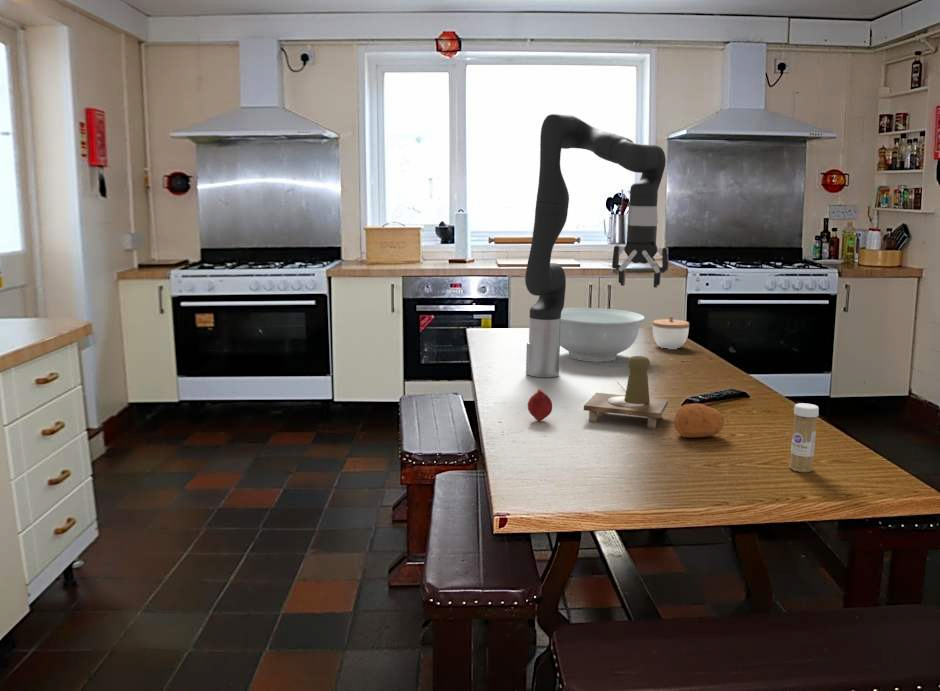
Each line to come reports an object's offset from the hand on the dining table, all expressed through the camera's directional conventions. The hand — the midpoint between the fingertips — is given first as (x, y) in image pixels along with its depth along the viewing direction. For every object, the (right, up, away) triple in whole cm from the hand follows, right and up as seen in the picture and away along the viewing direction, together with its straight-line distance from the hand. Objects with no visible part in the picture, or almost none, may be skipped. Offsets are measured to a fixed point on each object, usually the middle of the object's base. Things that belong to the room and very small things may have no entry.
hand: (639, 286), depth 227 cm
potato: (+8, -36, -29) cm, 47 cm away
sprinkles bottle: (+23, -41, -51) cm, 69 cm away
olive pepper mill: (-4, -29, -16) cm, 34 cm away
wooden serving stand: (-6, -33, -15) cm, 37 cm away
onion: (-27, -34, -18) cm, 47 cm away
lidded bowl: (+26, -16, +79) cm, 85 cm away
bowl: (-4, -20, +59) cm, 62 cm away
